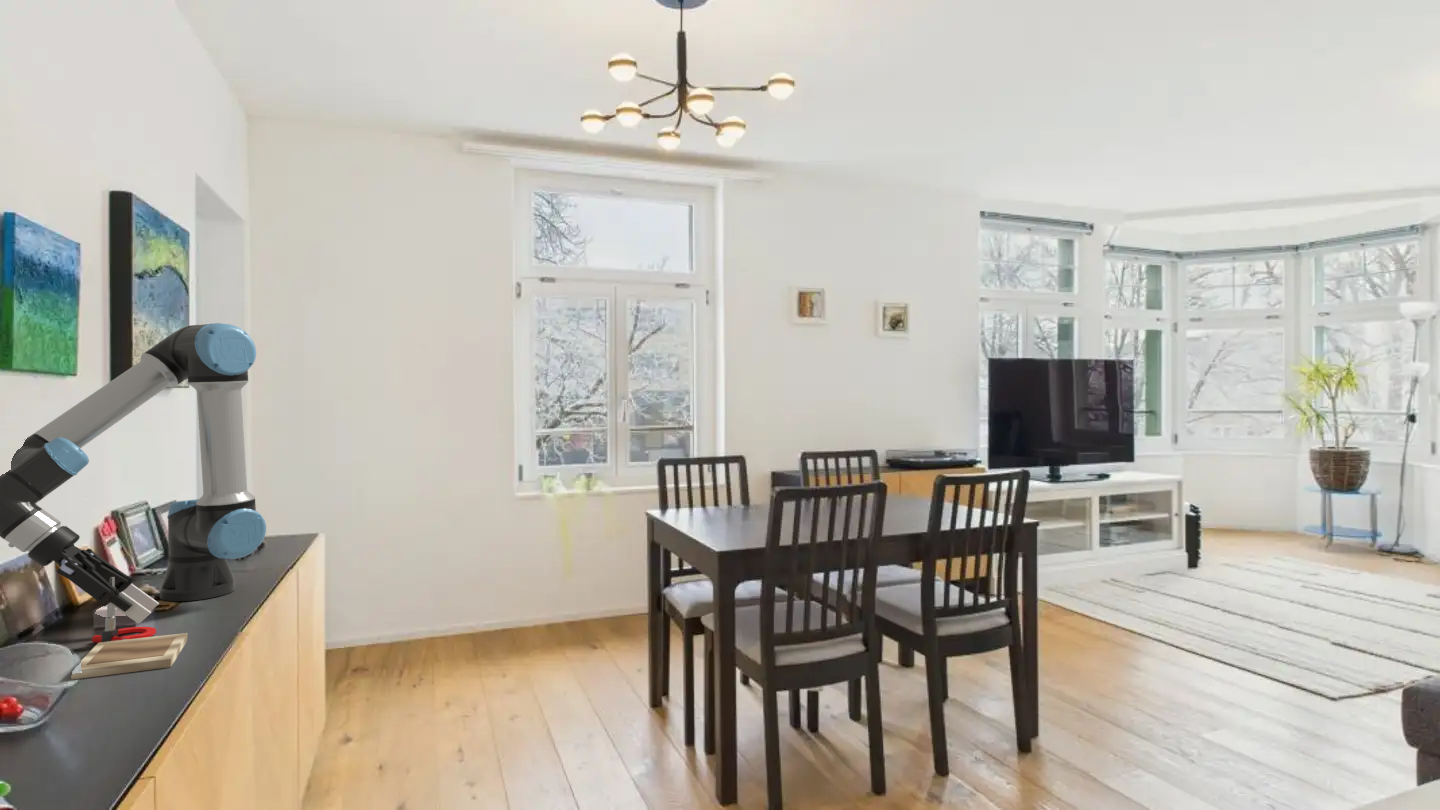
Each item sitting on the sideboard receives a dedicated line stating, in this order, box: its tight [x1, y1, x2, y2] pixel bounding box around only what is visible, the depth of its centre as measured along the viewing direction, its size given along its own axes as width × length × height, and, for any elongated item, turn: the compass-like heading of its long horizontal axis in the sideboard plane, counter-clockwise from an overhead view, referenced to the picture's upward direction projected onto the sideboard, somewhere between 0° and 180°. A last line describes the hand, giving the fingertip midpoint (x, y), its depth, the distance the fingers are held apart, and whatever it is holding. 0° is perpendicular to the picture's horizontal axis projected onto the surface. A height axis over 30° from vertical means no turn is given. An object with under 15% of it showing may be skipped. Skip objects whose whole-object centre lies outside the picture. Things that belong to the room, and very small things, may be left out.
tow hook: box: [91, 577, 157, 644], centre depth 152 cm, size 8×13×9 cm
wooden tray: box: [70, 632, 188, 680], centre depth 140 cm, size 16×14×2 cm
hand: (149, 613), depth 153 cm, fingers open, 6 cm apart
